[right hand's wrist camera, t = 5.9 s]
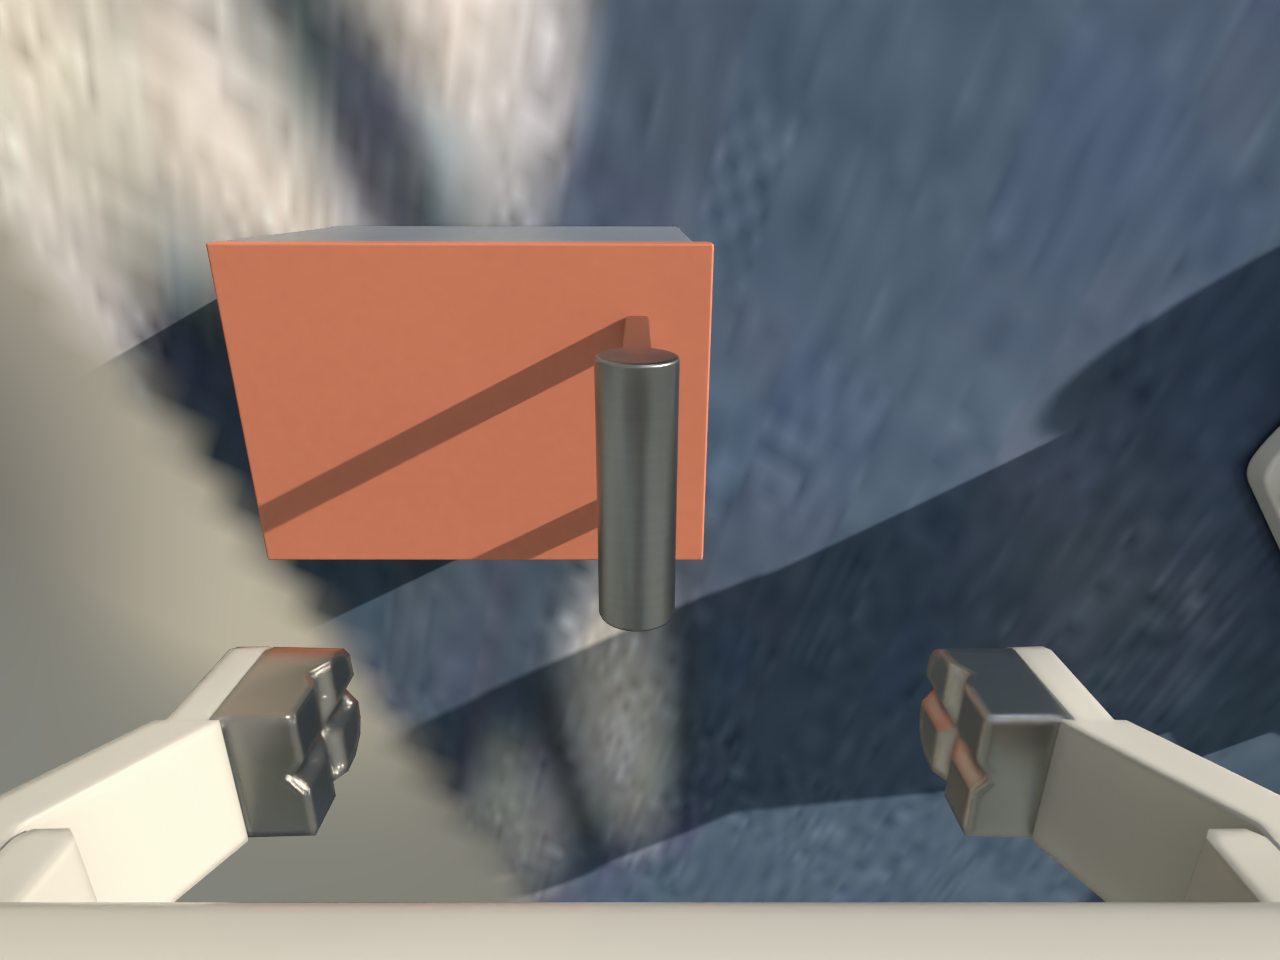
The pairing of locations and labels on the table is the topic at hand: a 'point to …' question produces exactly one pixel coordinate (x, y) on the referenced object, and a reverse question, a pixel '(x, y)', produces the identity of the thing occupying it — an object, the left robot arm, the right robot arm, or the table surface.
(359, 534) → the lid
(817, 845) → the table surface
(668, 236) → the chest
